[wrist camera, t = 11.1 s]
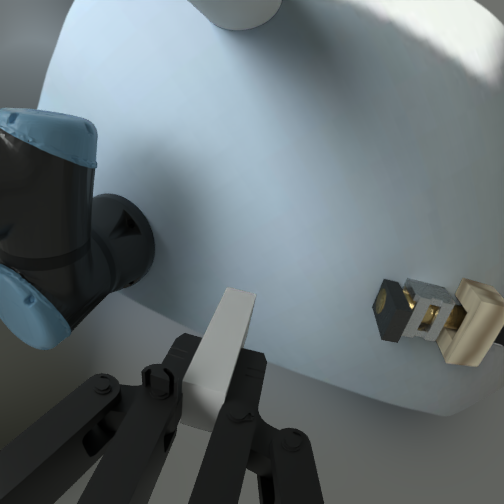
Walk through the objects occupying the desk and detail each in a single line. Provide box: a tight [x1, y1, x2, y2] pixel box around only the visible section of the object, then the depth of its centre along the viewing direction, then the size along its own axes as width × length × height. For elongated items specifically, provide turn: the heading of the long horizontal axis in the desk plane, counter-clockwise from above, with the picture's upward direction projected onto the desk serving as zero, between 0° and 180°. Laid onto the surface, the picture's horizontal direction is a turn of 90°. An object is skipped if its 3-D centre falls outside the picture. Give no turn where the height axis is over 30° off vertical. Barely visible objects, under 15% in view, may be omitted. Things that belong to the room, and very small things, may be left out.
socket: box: [436, 278, 504, 367], centre depth 38 cm, size 7×11×7 cm, turn 169°
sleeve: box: [401, 278, 456, 342], centre depth 40 cm, size 7×6×5 cm
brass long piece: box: [372, 279, 467, 343], centre depth 38 cm, size 18×5×8 cm, turn 79°
